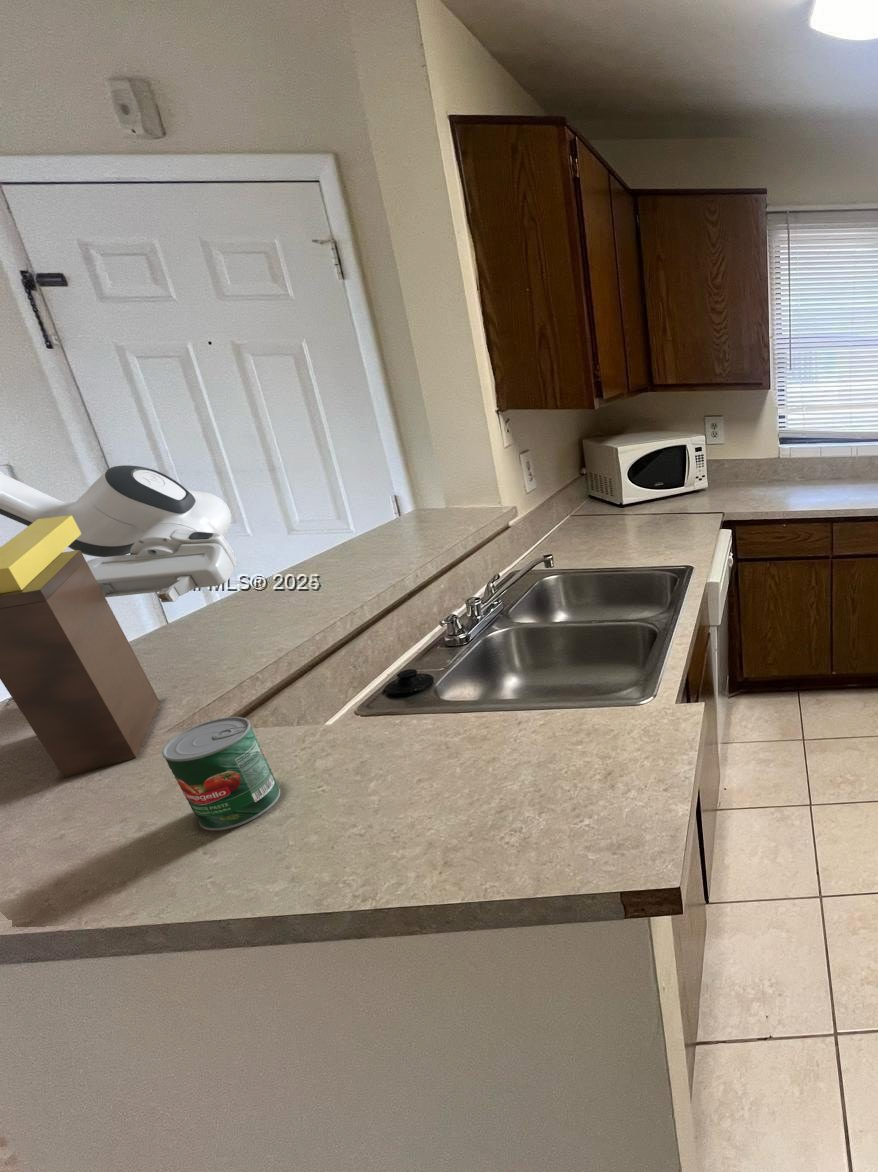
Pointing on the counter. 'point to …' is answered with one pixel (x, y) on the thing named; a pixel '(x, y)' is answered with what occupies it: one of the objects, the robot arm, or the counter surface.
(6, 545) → the yellow bar
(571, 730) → the counter surface
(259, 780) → the canned tomato
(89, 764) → the walnut stand
